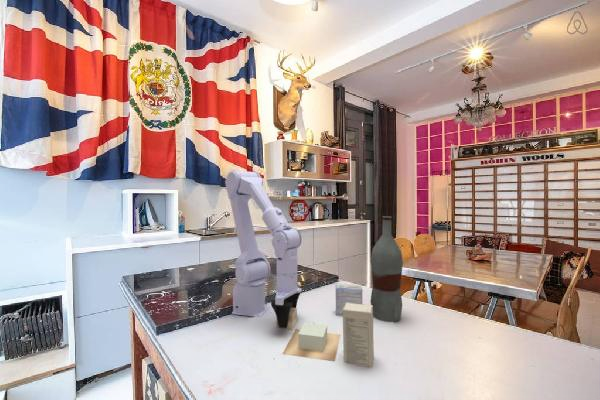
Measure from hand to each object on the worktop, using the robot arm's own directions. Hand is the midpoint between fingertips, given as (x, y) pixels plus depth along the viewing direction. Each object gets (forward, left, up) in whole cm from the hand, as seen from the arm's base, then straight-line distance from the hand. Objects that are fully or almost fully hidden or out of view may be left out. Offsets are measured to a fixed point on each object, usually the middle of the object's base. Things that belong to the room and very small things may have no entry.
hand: (287, 320), depth 81 cm
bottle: (+27, +13, -2) cm, 30 cm away
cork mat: (+9, -8, -2) cm, 12 cm away
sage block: (+9, -8, -1) cm, 12 cm away
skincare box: (+20, -12, -2) cm, 23 cm away
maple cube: (0, 0, -2) cm, 2 cm away
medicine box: (+16, +12, -2) cm, 20 cm away
